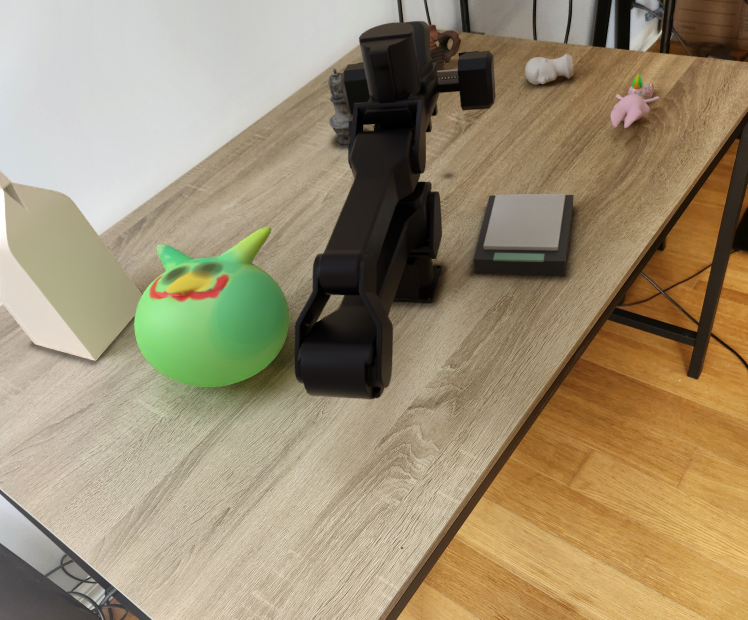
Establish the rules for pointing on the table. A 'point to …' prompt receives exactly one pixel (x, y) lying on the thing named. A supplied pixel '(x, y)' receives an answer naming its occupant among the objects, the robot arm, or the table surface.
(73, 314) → the milk
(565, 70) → the smooth white sculpture
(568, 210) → the scale
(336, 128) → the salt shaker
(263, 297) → the toy bird
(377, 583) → the table surface
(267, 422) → the table surface
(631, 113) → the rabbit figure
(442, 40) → the pottery mug
